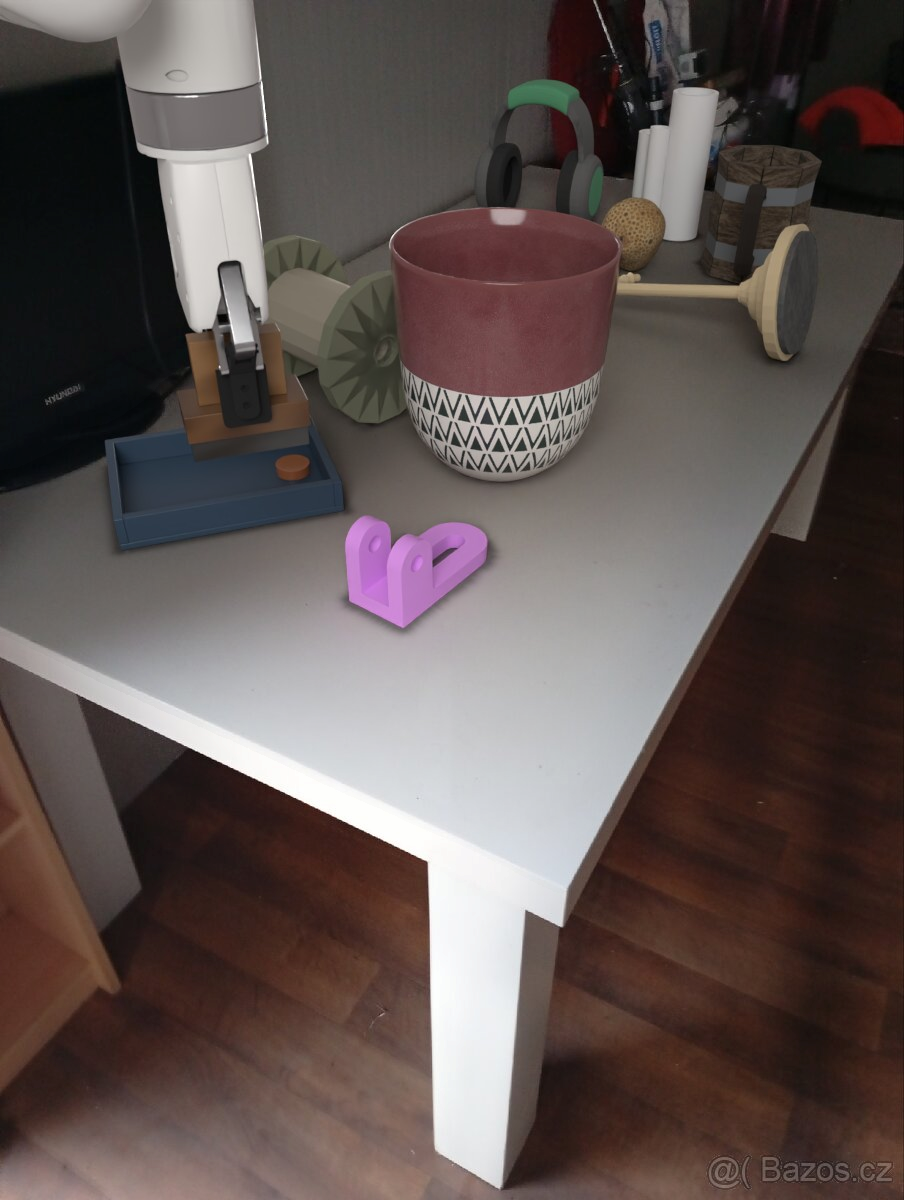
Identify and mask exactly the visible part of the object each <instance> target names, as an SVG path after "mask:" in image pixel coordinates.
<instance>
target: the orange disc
mask: <svg viewBox="0 0 904 1200" xmlns="http://www.w3.org/2000/svg"><path fill="white" fill-rule="evenodd" d="M276 472H277V475H278V477H280V478H281V479H284V480H300V479H303V478H305V477H307V476H308V475H309V474H310V461H309V459H308V458H307V457H305V456H302V455H287V456H284V457H281V458H280V459H278V460H277V462H276Z"/></svg>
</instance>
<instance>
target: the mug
mask: <svg viewBox="0 0 904 1200" xmlns="http://www.w3.org/2000/svg"><path fill="white" fill-rule="evenodd" d="M822 163H823V161H822V160H821V159H819V158H818V157H817V156H816V155H814V154H813V153H812V152H811V151H808V150H804V149H803V150H802V149H799V148H794V147H793V148H792V147H787V146H781V145H776V144H749V145H748V144H747V145H746V144H743V145H742V144H738V145H735V146H732V147H729V148H725V149H723V150H720V151H718V156H717V172H716V177H715V186H714V190H713V192H712V193H713V194H712V198H711V201H710V205H709V209H708V210H709V211H708V223H707V233H706V238H705V245H704V249H703V252H702V256H701V259H700V264H701V266H702V267H703V269H704V270H705V272H706V274H707V275H708V276H710V277H713V278H717V279H721V280H724V281H729V282H732V283H734V284H739V285H740V284H741V282H744V281H746V280H748V279H750V278H752V276H753V274H754V272H755V270H756V268H758V267H760V266H762V265H764V262H765V260H766V258H767V256H768V255H769V254H770V252H772V251H773V249H774V247H775V244H776V242H777V239H778V237H779V236H780V234H781V232H782V231H783V230H784V229H785V228H786V227H788V226H792V225H798V224H805V225H806V226H807V227H808V222H809V218H810V211H811V204H812V203H811V202H812V198H813V193H814V189H815V188H814V187H815V183H816V180H817V177H818V174H819V172H820V169H821V166H822Z"/></svg>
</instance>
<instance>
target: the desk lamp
mask: <svg viewBox="0 0 904 1200" xmlns="http://www.w3.org/2000/svg"><path fill="white" fill-rule="evenodd" d="M641 277H642V276H641V275H640V274H639V273H633V272H632V271H628V272H627V274H621V276H620V275H619V280H618V286H617V291H616V296H628V297H629V296H632V297H659V298H660V297H662V298H691V299H692V298H695V299H724V300H737V301H738V303H739V304H741V305H743V306H744V307H746V308H747V309H748V314H749V316H750V318H751V319H752V320H754V321H756V325H757V329H758V331H759V333H761V335H762V340H763V346H764V349H765V352H766V354H767V356H768V357H770V358H771V359H772V360H773V359H774V360H777V361H781V362H787V361H789V360H790V359H791V358H792V357H793V356H794V355H796V354H797V353H798V352H799V351H800V349H801V348H802V346H803V344H804V342H805V340H806V338H807V335H808V332H809V330H810V326H811V322H812V318H813V313H814V309H815V304H816V298H817V289H818V279H819V250H818V244H817V240H816V237H815V234H814V233H813V232H812V231H811V230H810V229H809V226H808V225H807V226H806V225H805V224H798V225H792V226H788V227H786V228H785V229H784V230H783V231H782V232H781V234H780V236H779V237H778V239H777V242H776V244H775V247H774V249H773V251H772V252H770V254H769V255H768V256H767V258H766V260H765V262H764V265H762V266H760V267H758V268H756V270H755V272H754V274H753V276H752V278H750V279H748V280H746V281H744V282H741V284H739V285H723V284H722V285H720V284H716V285H715V284H679V283H676V284H675V283H640V281H642V278H641Z"/></svg>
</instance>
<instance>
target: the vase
mask: <svg viewBox="0 0 904 1200" xmlns="http://www.w3.org/2000/svg"><path fill="white" fill-rule="evenodd" d="M719 96H720V92H719V91H718V90H716V89H712V88H706V87H694V86H693V87H692V86H691V87H678V88H675V89H674V90H673V92H672V98H671V104H670V105H671V106H670V112H669V113H670V114H669V121H668V125H662V124H654V125H650V128H643V129H640V130H638V138H637V139H638V140H637V148H636V156H635V166H634V174H633V182H632V190H631V198H633V197H638V198H644V199H648V200H650V201H652V202H653V203H655V204H656V205H657V206H658V208H659V209H660V210H661V212H662V214H663V215H664V218H665V222H666V228H665V234H664V238H663V240H665V241H671V242H687V241H691V240H695V239H696V238H697V235H698V230H699V229H698V228H699V224H700V223H699V222H700V217H701V210H702V204H703V198H704V191H705V185H706V178H707V174H708V173H707V172H708V167H709V159H710V155H711V154H710V153H711V147H712V142H713V141H712V140H713V136H714V135H713V134H714V128H715V122H716V115H717V108H718V103H719Z"/></svg>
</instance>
